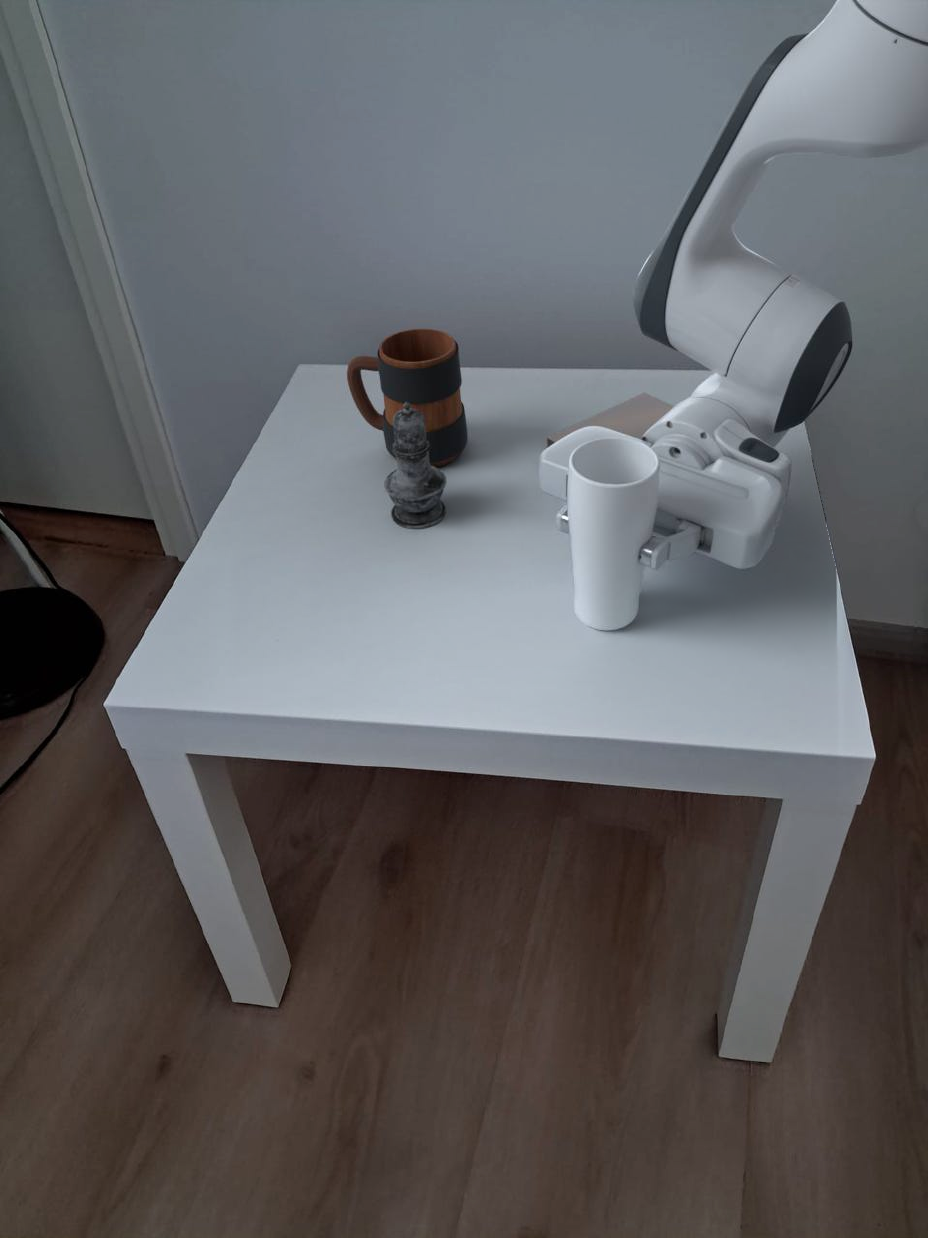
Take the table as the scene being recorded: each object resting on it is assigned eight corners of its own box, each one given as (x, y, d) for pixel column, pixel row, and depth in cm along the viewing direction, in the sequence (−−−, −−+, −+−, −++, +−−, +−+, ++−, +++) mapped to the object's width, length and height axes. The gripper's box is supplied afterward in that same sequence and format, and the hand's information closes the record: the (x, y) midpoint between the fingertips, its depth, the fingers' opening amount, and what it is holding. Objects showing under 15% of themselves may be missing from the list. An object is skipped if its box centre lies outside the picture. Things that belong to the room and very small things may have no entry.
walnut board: (742, 450, 95) (743, 443, 94) (642, 504, 89) (642, 497, 89) (643, 398, 104) (644, 391, 103) (546, 444, 98) (546, 437, 97)
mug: (369, 422, 103) (355, 321, 95) (475, 429, 101) (470, 326, 93) (345, 465, 97) (327, 362, 89) (457, 474, 95) (450, 368, 87)
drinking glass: (651, 591, 80) (666, 439, 70) (640, 645, 75) (655, 491, 65) (573, 581, 82) (577, 431, 71) (557, 633, 77) (559, 481, 67)
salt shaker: (384, 499, 92) (369, 390, 84) (443, 490, 93) (434, 381, 85) (392, 535, 88) (377, 423, 80) (453, 525, 88) (445, 413, 80)
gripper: (589, 393, 83) (496, 466, 75) (811, 464, 73) (729, 557, 65) (587, 454, 87) (498, 529, 80) (797, 529, 77) (718, 623, 70)
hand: (604, 542), depth 73 cm, fingers closed on drinking glass, 6 cm apart
